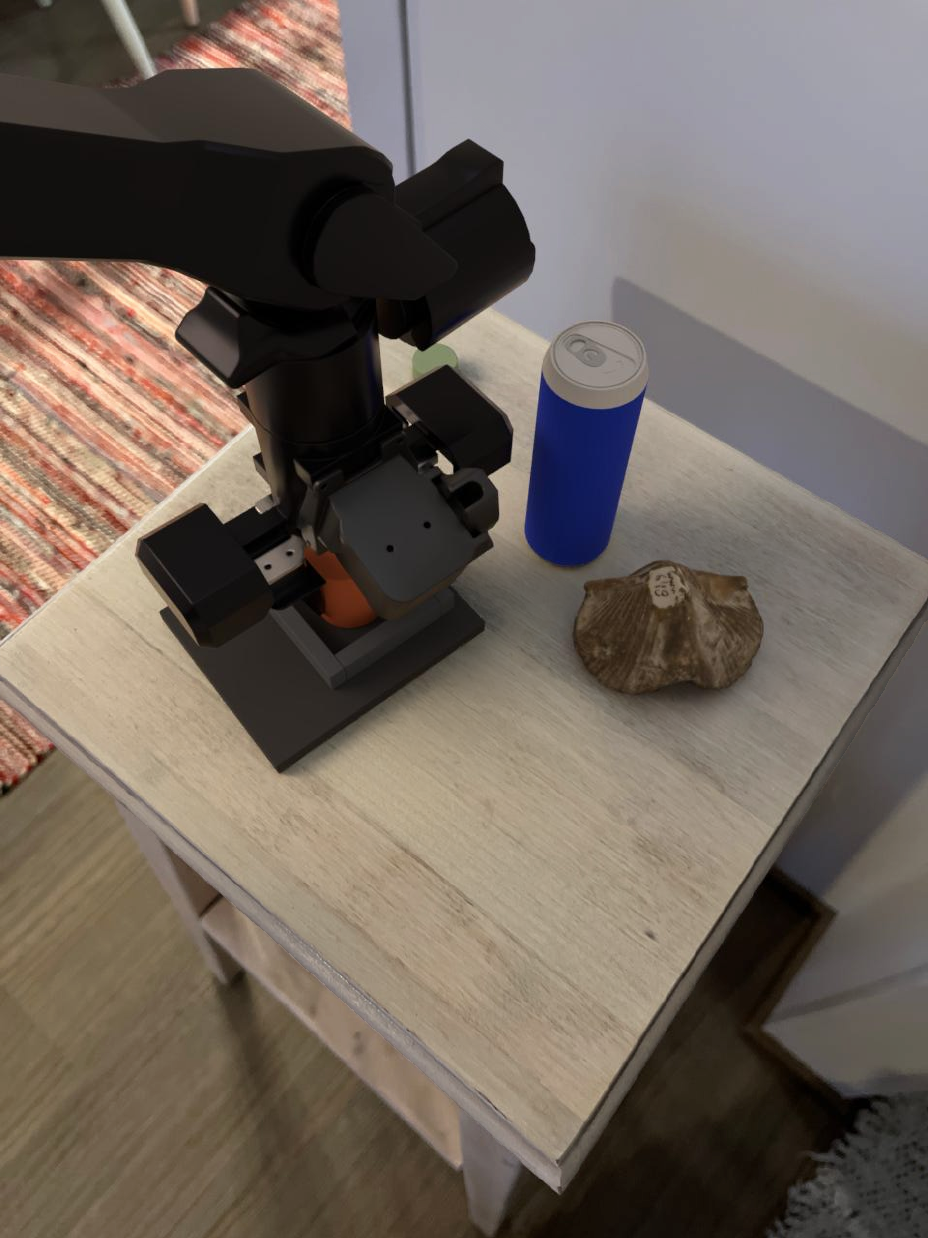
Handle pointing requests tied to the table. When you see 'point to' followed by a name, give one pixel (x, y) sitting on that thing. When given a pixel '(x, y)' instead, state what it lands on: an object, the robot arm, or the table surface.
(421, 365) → the pad
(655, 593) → the fossilized seashell
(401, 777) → the table surface
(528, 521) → the beverage can
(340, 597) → the orange cylinder
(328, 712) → the base pad
